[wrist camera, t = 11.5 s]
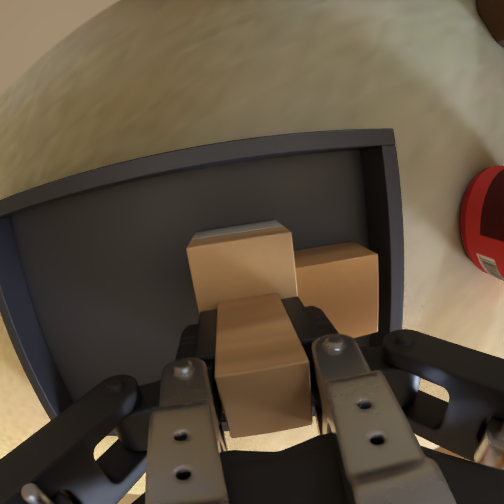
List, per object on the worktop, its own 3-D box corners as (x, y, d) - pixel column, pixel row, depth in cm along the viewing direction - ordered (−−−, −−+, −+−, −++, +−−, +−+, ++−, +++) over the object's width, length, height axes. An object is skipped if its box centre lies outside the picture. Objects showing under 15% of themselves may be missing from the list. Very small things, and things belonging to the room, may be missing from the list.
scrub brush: (194, 232, 15) (159, 295, 7) (276, 219, 15) (337, 267, 7) (219, 356, 17) (219, 482, 8) (290, 345, 17) (337, 461, 8)
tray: (4, 204, 14) (-26, 210, 11) (366, 135, 15) (393, 128, 12) (72, 406, 18) (57, 432, 15) (376, 367, 19) (395, 393, 16)
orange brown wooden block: (280, 252, 16) (292, 268, 13) (353, 240, 16) (378, 253, 13) (288, 323, 17) (300, 350, 14) (356, 309, 17) (378, 332, 14)
